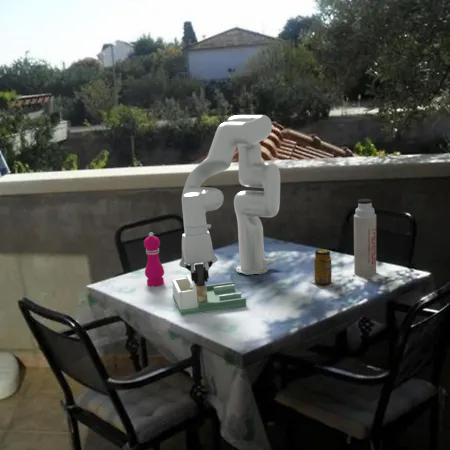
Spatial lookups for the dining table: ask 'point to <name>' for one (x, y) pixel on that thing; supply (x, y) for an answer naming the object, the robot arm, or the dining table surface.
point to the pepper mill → (153, 261)
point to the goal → (185, 293)
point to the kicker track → (225, 289)
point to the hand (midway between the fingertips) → (200, 281)
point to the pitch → (214, 301)
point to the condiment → (323, 269)
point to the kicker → (200, 283)
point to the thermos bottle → (365, 239)
